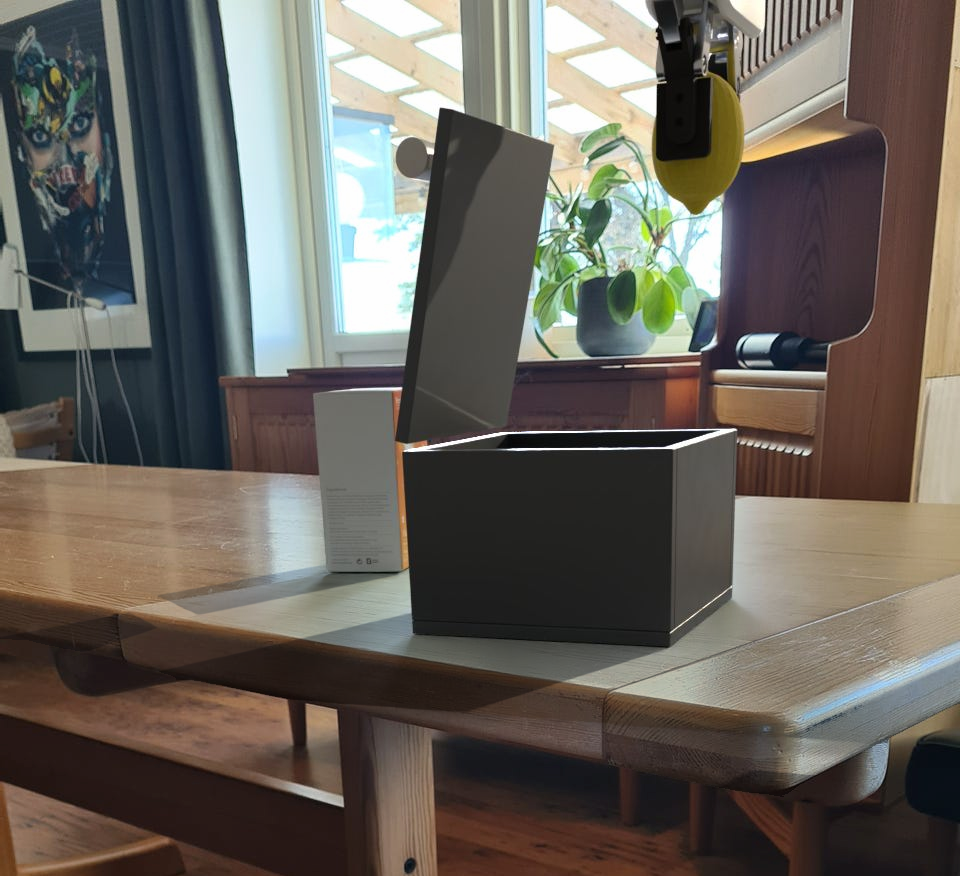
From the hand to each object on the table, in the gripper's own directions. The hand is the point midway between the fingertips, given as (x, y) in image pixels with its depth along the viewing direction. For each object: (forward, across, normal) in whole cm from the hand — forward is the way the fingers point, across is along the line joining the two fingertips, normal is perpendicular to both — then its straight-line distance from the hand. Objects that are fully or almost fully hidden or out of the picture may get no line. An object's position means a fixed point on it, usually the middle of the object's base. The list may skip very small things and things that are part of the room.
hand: (698, 161), depth 78 cm
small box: (+26, +4, +26) cm, 37 cm away
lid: (+7, -12, +9) cm, 17 cm away
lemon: (+3, 0, 0) cm, 3 cm away
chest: (+25, -12, +4) cm, 28 cm away
